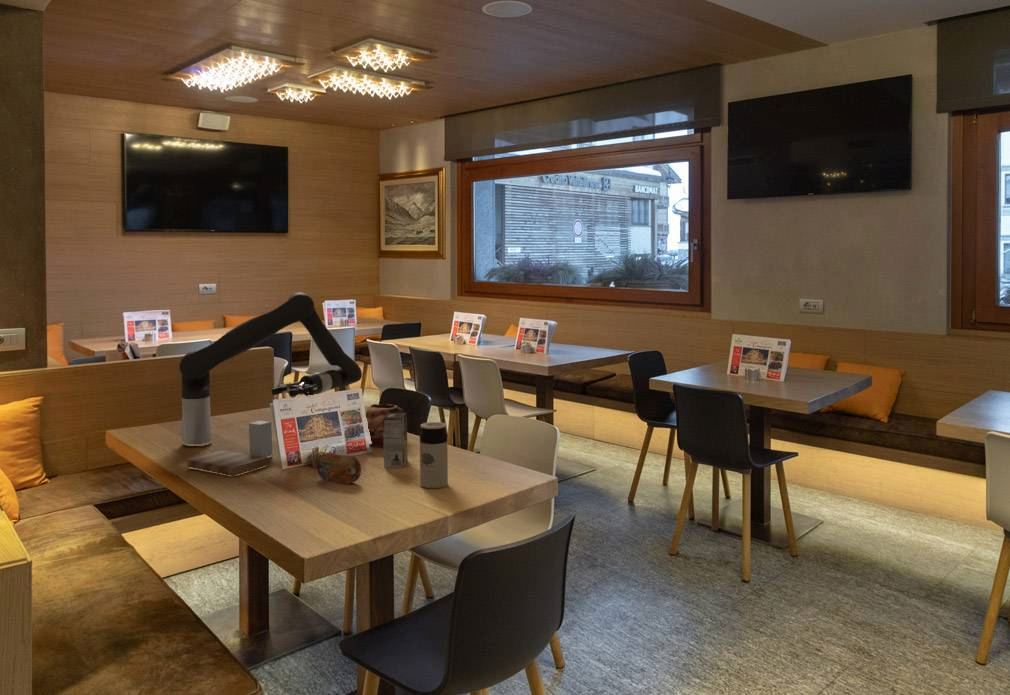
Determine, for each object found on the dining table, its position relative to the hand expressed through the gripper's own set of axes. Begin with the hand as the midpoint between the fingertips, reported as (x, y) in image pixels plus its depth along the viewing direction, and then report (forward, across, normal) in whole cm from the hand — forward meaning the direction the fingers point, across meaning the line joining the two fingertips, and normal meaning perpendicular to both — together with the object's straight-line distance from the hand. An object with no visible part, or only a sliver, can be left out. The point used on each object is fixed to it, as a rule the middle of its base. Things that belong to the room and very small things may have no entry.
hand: (281, 392), depth 263 cm
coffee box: (-7, +43, +23) cm, 49 cm away
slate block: (+11, 0, +20) cm, 23 cm away
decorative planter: (-27, +21, +23) cm, 41 cm away
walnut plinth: (+25, +1, +19) cm, 31 cm away
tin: (+17, +41, +21) cm, 49 cm away
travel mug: (+5, +68, +23) cm, 71 cm away
